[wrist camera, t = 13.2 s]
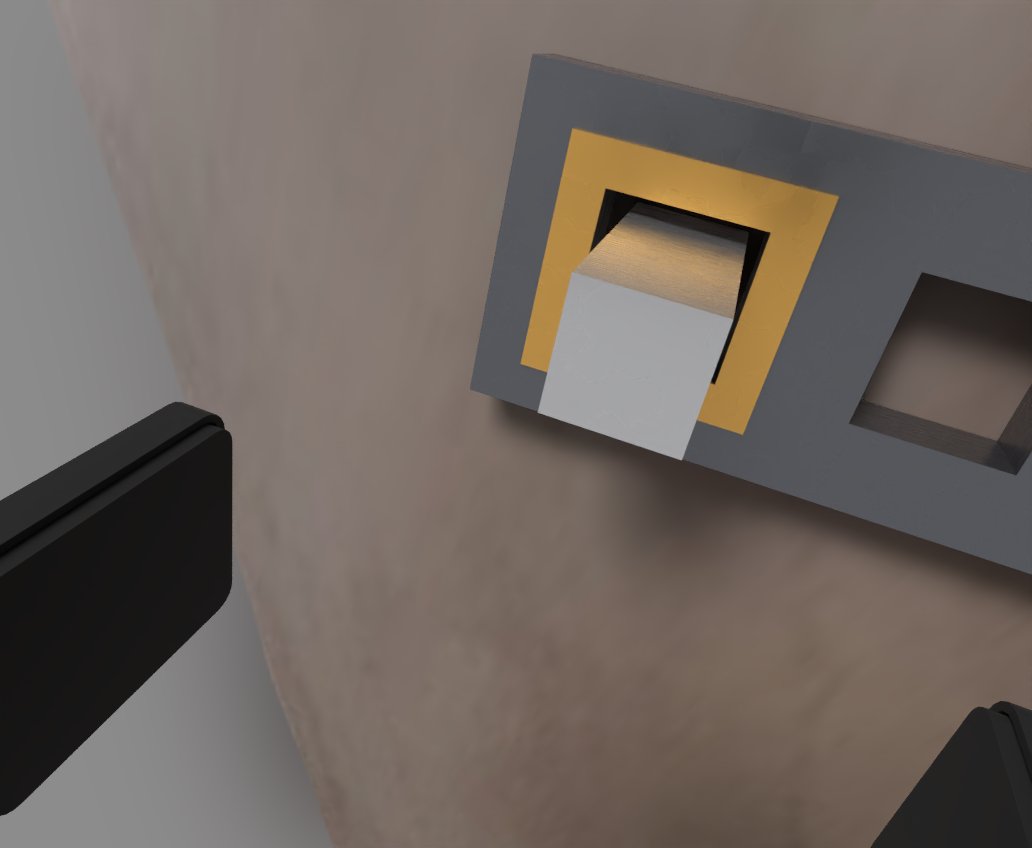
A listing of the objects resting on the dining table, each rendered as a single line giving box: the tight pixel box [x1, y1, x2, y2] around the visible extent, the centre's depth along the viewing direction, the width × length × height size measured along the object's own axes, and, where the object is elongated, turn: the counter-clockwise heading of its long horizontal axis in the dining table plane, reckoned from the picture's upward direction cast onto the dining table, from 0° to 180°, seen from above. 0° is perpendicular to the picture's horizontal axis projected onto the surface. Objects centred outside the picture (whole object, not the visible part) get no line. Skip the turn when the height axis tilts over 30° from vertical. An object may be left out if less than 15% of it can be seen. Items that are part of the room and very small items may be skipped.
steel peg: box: [538, 202, 749, 460], centre depth 23 cm, size 4×4×10 cm
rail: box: [470, 54, 1032, 574], centre depth 24 cm, size 32×12×3 cm, turn 78°
